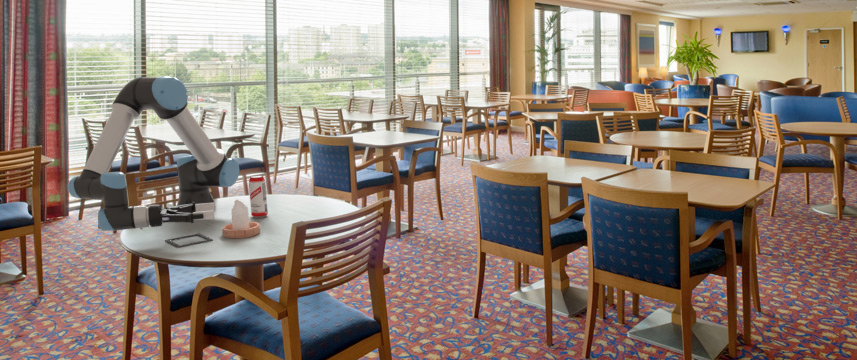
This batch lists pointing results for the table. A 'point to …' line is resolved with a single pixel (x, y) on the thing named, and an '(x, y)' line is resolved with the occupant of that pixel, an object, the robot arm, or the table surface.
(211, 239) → the dark grey square frame
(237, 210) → the white tapered upright piece
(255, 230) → the bowl
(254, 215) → the beer can
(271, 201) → the table surface
